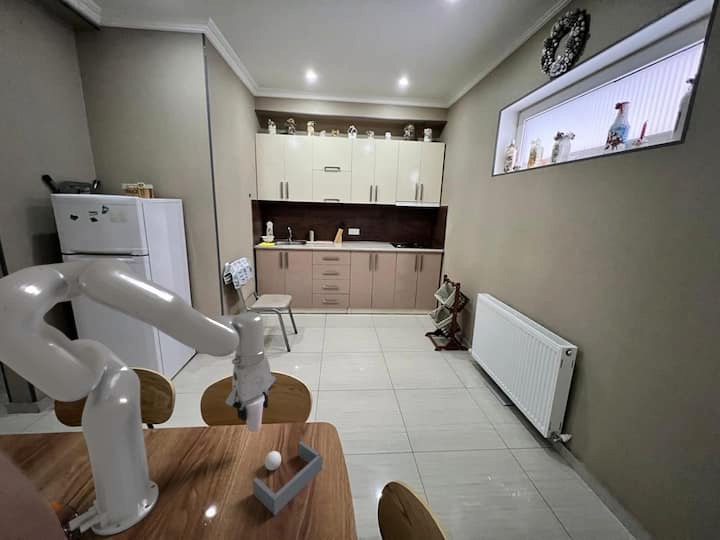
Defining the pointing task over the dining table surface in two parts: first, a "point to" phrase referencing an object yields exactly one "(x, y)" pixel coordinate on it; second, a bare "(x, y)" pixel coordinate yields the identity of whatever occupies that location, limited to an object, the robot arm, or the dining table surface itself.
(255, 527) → the dining table surface
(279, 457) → the ball
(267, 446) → the dining table surface
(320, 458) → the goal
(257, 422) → the smoothie
